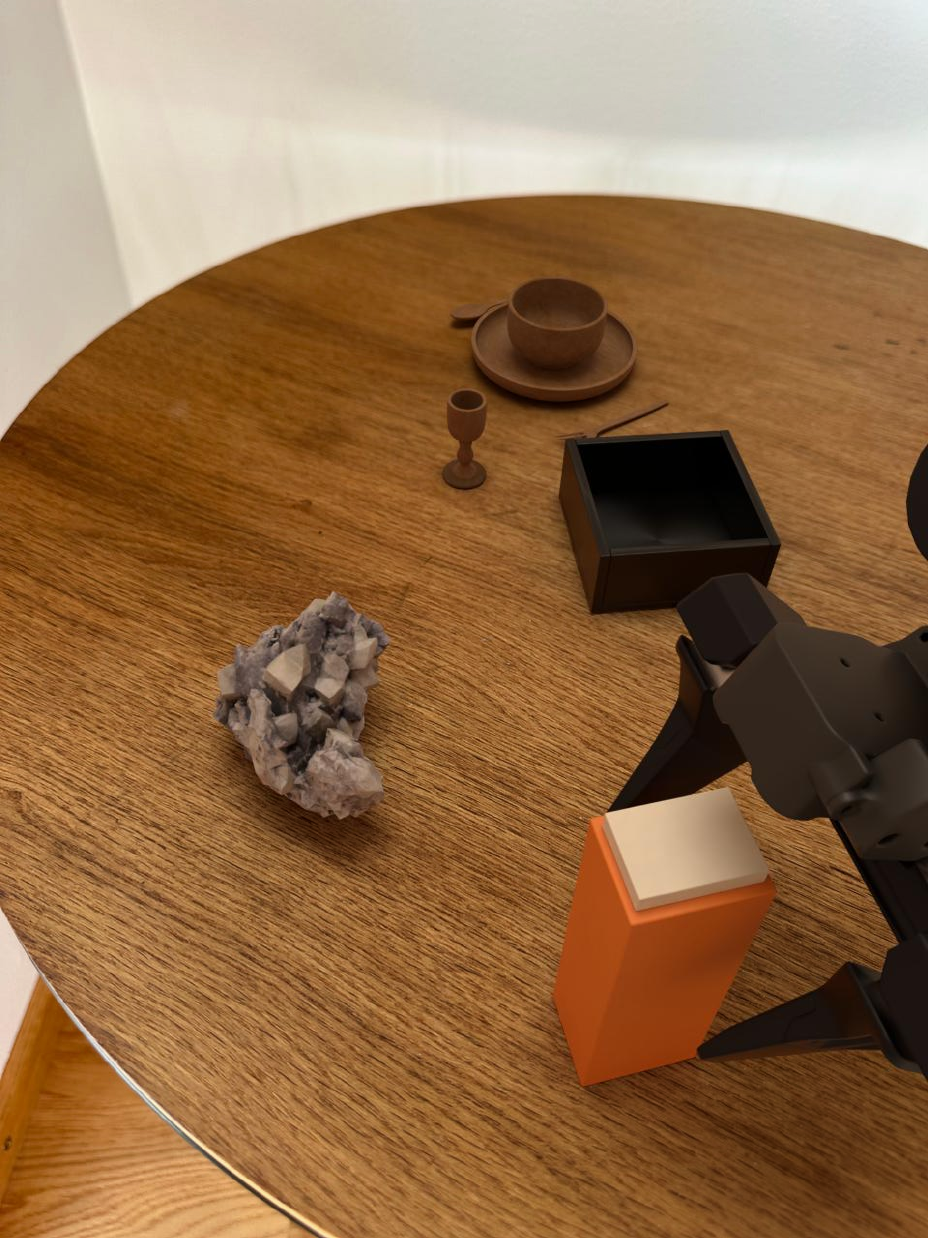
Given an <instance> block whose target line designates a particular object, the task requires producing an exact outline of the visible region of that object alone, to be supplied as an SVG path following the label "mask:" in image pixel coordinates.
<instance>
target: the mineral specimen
mask: <svg viewBox="0 0 928 1238" xmlns="http://www.w3.org/2000/svg"><path fill="white" fill-rule="evenodd" d="M391 642H392V639H391V637H390V635H388V633H387V632H386V631H385V629H384V627H383V626H382V624H380V623H379V622H377V621H376V620H374V619H371V618H369V617H368V616H366V615H364V614H363V613H358V612H357V611H356V610H355V609H354V608H353V607H352V605H351V604H350V603H349V599H348V598H346V597H344V596H342V595H340V594H338V593H337V592H335V591H334V590H332V591H331V593H330V595H329V596H327V598H326V599H322V598H315V599H313V600H312V602H311V603H310V604H309V605H308V606H307V607H306V608H305V609H304V610H302V611H301V613H300V615H299V616H297V618H296V619H294V620H293V621H292V622H291V623H290V624H289V625H288V626H284V625H281V624H276V625H275V624H274V625H271V626H270V627H269V628H267V630H265V631H262V632H261V633H260V635H259V638H258V640H257V642H255V643H254V644H252V645H251V646H250V647H248V648H246V647H245V646H243V645H242V644H240V643H237V645H236V646H235V648H234V650H233V651H234V652H233V663H230V664H227V665H225V666H224V667H222V668H220V669H219V670H217V671H216V676H217V685H218V689H219V691H220V693H219V695H218V696H217V697H215V703H214V706H215V707H216V709H214V710H213V711H212V712H211V713H210V716H212V717H213V718H214V719H215V720H216V722H218V723H220V724H221V725H223V726H224V727H225V728H227V730H228V731H230V732H232V733H233V735H234V736H235V737H234V739H235V740H236V741H237V742H238V743H239V744H241V745H242V748H243V751H244V752H243V753H244V755H245V759H246V760H247V761H250V762H252V763H253V767H254V770H255V773H256V775H257V776H258V779H259V780H260V782H261V783H262V785H264V786H269V788H270V789H271V790H273V792H275V793H277V794H279V795H281V796H283V795H284V796H285V797H287V798H288V799H289V800H290V801H292V802H294V803H296V804H297V805H299V806H300V807H301V808H302V809H304V810H306V811H310V812H316V813H319V815H320V816H321V817H322V818H323V819H324V818H326V817H329V816H332V815H336V817H337V818H338V820H342V819H344V818H347V817H349V816H350V817H353V818H358V817H359V816H361V815H363V813H365V812H367V811H368V810H371V809H373V808H376V807H378V806H380V804H381V802H382V801H383V800H384V797H386V791H384V788H383V779H384V776H383V775H382V773H381V771H379V770H378V768H377V767H376V766H375V764H374V763H373V762H372V760H371V759H370V758H368V757H367V756H365V755H364V749H363V747H362V745H361V743H360V742H359V739H360V735H361V733H362V732H363V731H364V729H365V708H366V704H367V702H368V701H369V700H368V696H369V695H368V692H369V691H371V690H373V689H374V688H378V687H379V684H380V680H379V677H378V676H377V673H378V672H379V671H380V668H379V663H378V659H379V657H380V656H381V655H382V654H383V653H384V652H385V650H386V649H387V648H388V646H389V645H390V643H391Z"/></svg>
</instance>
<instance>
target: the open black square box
mask: <svg viewBox="0 0 928 1238" xmlns="http://www.w3.org/2000/svg"><path fill="white" fill-rule="evenodd" d="M564 442H565V443H564V448H563V455H562V456H563V457H562V465H561V473H560V480H559V488H558V489H559V490H558V499H559V503H560V507H561V510H562V511H561V512H562V514H563V518H564V521H565V525H566V528H567V533H568V536H569V540H570V543H571V546H572V550H573V554H574V558H575V561H576V565H577V569H578V573H579V576H580V579H581V583H582V587H583V591H584V594H585V598H586V601H587V605H588V609H589V612H590V614H593V615H594V614H604V613H606V614H607V613H618V612H619V613H620V612H632V611H645V610H646V611H647V610H648V611H649V610H658V609H659V610H660V609H673V608H675V609H676V606H677V604H678V603H679V602H680V601H681V600H683V599H684V598H685V597H686V596H688V595H689V594H690V593H692V592H693V591H694V590H696V589H697V588H698V587H700V586H701V585H702V584H703V583H705V582H706V581H707V580H709V579H710V578H711V577H717V576H722V575H728V574H737V573H748V574H749V575H751V576H752V577H753V578H754V579H756V580H757V581H758V582H759V583H761V584H762V585H763V586H764V587H766V588H767V589H768V586H769V582H770V580H771V578H772V575H773V572H774V568H775V565H776V563H777V559H778V556H779V553H780V550H781V547H782V541H781V539H780V538H779V535H778V533H777V530H776V529H775V527H774V525H773V522H772V520H771V517H770V515H769V513H768V511H767V510H766V507H765V505H764V503H763V501H762V499H761V496H760V494H759V492H758V490H757V488H756V486H755V483H754V482H753V479H752V477H751V475H750V473H749V471H748V469H747V467H746V464H745V462H744V460H743V458H742V455H741V454H740V451H739V449H738V447H737V445H736V442H735V440H734V439H733V436H732V435H731V432H730V430H729V429H720V430H718V429H717V430H703V431H702V430H701V431H700V430H699V431H685V432H667V433H650V434H649V433H648V434H632V435H631V434H630V435H616V436H615V435H613V436H596V437H594V438H586V437H580V438H574V439H566V440H564Z"/></svg>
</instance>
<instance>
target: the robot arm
mask: <svg viewBox="0 0 928 1238" xmlns="http://www.w3.org/2000/svg"><path fill="white" fill-rule="evenodd" d="M905 509H906V521H907V527H908V529H909V532H910V534H911V537H912V539H913V542H914V544H915V547H916V548H917V550H918V551H919V553H920V555H921V556H922V557H923V558H924V559H925V560H926V561H927V562H928V443H927V444H926V445H925V447H924V448H923V450H922V451H921V452H920V454H919V456H918V458H917V460H916V462H915V465H914V467H913V470H912V472H911V474H910V476H909V481H908V487H907V492H906V497H905ZM675 610H676V611H677V613H678V615H679V617H680V619H681V621H682V623H683V624H684V627H685V629H686V630H687V632H688V634H689V637H690V638H691V639H690V638H689V637H687V636H686V635H685V634H681V635H679V637H678V638H677V640H676V643H675V648H674V649H675V653H676V654H677V656H678V658H679V659H678V660H679V665H680V666H679V680H678V693H677V699H676V701H675V704H674V705H673V707H672V709H671V711H670V712H669V715H668V717H667V718H666V721H665V723H664V725H663V726H662V728H661V729H660V731H659V733H658V735H657V736H656V738H655V739H654V741H653V742H652V743H651V745H650V747H649V749H648V750H647V752H646V753H645V754H644V755H643V757H642V759H641V760H640V762H639V763H638V765H637V766H636V767H635V768H634V771H632V774H631V775H630V776H629V778H628V779H627V781H626V782H625V784H624V785H623V787H622V788H621V789H620V792H619V793H618V794H617V796H616V797H615V799H614V800H613V801H612V803H611V805H610V806H609V808H608V809H607V811H606V812H605V813H609V812H613V811H618V810H623V809H627V808H632V807H637V806H642V805H646V804H651V803H656V802H660V801H665V800H670V799H674V798H679V797H684V796H688V795H693V794H696V793H697V792H699V791H700V790H702V789H703V788H705V787H707V786H709V785H710V784H712V783H714V782H716V781H717V780H718V779H721V778H722V777H724V776H725V775H727V774H729V773H731V772H732V771H734V770H736V769H737V768H739V767H740V766H743V765H744V764H746V763H748V764H749V766H750V770H751V773H750V780H751V782H752V784H753V786H754V788H755V790H756V792H757V793H758V795H759V796H760V798H761V799H762V800H763V801H764V803H765V804H766V805H768V807H769V808H770V809H772V811H774V812H776V813H777V814H779V815H780V816H782V817H784V818H787V819H789V820H792V821H799V822H809V821H813V820H814V819H828V820H829V821H830V823H831V825H832V827H833V829H834V830H835V832H836V834H837V836H838V837H839V839H840V841H841V843H842V846H843V847H844V849H845V850H846V852H847V854H848V856H849V858H850V859H851V861H852V862H853V864H854V866H855V868H856V869H857V872H858V874H859V875H860V877H861V879H862V881H863V882H864V884H865V886H866V888H867V889H868V891H869V894H870V895H871V896H872V899H873V900H874V902H875V904H876V905H877V907H878V909H879V911H880V913H881V914H882V916H883V918H884V920H885V921H886V923H887V925H888V927H889V929H890V930H891V932H892V935H893V936H894V937H895V940H896V941H897V943H898V944H896V945H895V946H893V947H891V948H889V949H887V951H886V955H885V958H884V962H883V966H882V969H881V971H879V970H876V969H874V968H871V967H868V966H865V965H862V964H858V963H856V962H853V961H850V960H847V961H846V962H844V963H843V964H842V965H840V967H839V968H838V969H837V970H836V971H835V972H834V973H833V974H832V975H831V977H830V978H828V979H827V980H826V982H824V983H823V984H822V985H820V986H819V987H817V988H814V989H813V990H810V991H808V992H806V993H804V994H801V995H799V996H796V997H795V998H792V999H790V1000H788V1001H785V1002H783V1003H780V1004H779V1005H776V1006H774V1007H771V1008H769V1009H767V1010H764V1011H762V1012H760V1013H758V1014H756V1015H753V1016H750V1017H749V1018H747V1019H746V1018H745V1019H744V1020H742V1021H740V1022H738V1023H735V1024H733V1025H731V1026H729V1027H726V1028H724V1029H722V1030H721V1031H719V1032H718V1033H717V1034H715V1035H713V1036H712V1037H710V1038H709V1039H708V1040H706V1041H705V1042H702V1044H701V1045H700V1046H699V1047H698V1048H697V1049H696V1051H697V1054H696V1055H697V1056H698V1058H699V1060H700V1061H701V1062H707V1063H715V1064H716V1063H726V1062H736V1061H746V1060H756V1059H766V1058H777V1057H787V1056H796V1055H806V1054H816V1053H817V1054H818V1053H829V1052H842V1051H871V1052H872V1051H874V1052H875V1051H876V1052H877V1051H879V1052H880V1053H882V1055H883V1056H884V1058H885V1059H886V1060H887V1061H888V1062H889V1063H890V1064H891V1065H892V1066H893V1067H895V1068H896V1069H899V1070H901V1071H906V1072H910V1073H911V1072H912V1073H915V1074H920V1075H923V1077H924V1079H925V1081H926V1082H928V625H925V624H924V625H921V626H920V627H918V628H917V629H915V630H913V631H912V632H911V633H909V634H907V635H906V636H905V637H903V638H901V639H899V640H896V641H893V642H890V643H887V644H883V645H881V646H880V645H877V644H875V643H874V642H872V641H870V640H868V639H867V638H865V637H863V636H860V635H857V634H853V633H849V632H848V633H847V632H841V631H838V630H837V631H836V630H831V629H827V628H826V629H825V628H821V627H816V626H810V625H808V624H807V623H806V621H805V620H804V618H803V617H802V615H801V614H799V613H798V612H797V611H796V610H795V609H793V608H792V607H791V606H789V605H788V604H787V603H786V602H784V600H782V599H781V598H780V597H778V596H777V595H776V594H775V593H774V592H772V591H771V590H770V589H769V588H768V587H767V588H766V587H764V586H763V585H762V584H761V583H759V582H758V581H757V580H756V579H754V578H753V577H752V576H751V575H749V574H748V573H737V574H728V575H722V576H717V577H711V578H710V579H709V580H707V581H706V582H705V583H703V584H702V585H701V586H700V587H698V588H697V589H696V590H694V591H693V592H692V593H690V594H689V595H688V596H686V597H685V598H684V599H683V600H681V601H680V602H679V603H678V604H677V606H676V607H675Z"/></svg>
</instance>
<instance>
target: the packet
mask: <svg viewBox="0 0 928 1238" xmlns="http://www.w3.org/2000/svg"><path fill="white" fill-rule="evenodd" d="M588 821H589V822H588V825H587V831H586V836H585V841H584V845H583V849H582V853H581V859H580V863H579V869H578V873H577V878H576V882H575V887H574V892H573V897H572V900H571V905H570V906H571V907H570V910H569V916H568V921H567V925H566V930H565V935H564V939H563V944H562V948H561V953H560V957H559V962H558V967H557V972H556V977H555V983H554V986H553V990H552V999H553V1002H554V1005H555V1008H556V1011H557V1015H558V1018H559V1021H560V1024H561V1027H562V1030H563V1033H564V1036H565V1039H566V1043H567V1045H568V1050H569V1052H570V1055H571V1058H572V1061H573V1065H574V1067H575V1070H576V1074H577V1076H578V1080H579V1083H580V1085H581V1087H587V1086H592V1085H595V1084H599V1083H603V1082H606V1081H611V1080H613V1079H619V1078H621V1077H626V1076H629V1075H633V1074H638V1073H640V1072H645V1071H648V1070H652V1069H656V1068H660V1067H663V1066H667V1065H671V1064H674V1063H679V1062H682V1061H683V1062H684V1061H687V1060H690V1059H694V1058H696V1055H698V1054H697V1051H696V1049H697V1048H698V1047H699V1046H700V1045H702V1044H703V1043H704V1040H705V1038H706V1036H707V1034H708V1031H709V1030H710V1028H711V1026H712V1024H713V1022H714V1019H715V1017H716V1015H717V1013H718V1011H719V1010H720V1007H721V1006H722V1003H723V1001H724V999H725V997H726V995H727V993H728V991H729V989H730V987H731V985H732V983H733V981H734V979H735V977H736V975H737V973H738V971H739V969H740V968H741V965H742V964H743V961H744V959H745V957H746V956H747V954H748V951H749V949H750V947H751V945H752V943H753V941H754V939H755V937H756V934H757V933H758V931H759V930H760V927H761V926H762V923H763V921H764V919H765V917H766V915H767V913H768V911H769V909H770V907H771V905H772V903H773V901H774V899H775V896H776V895H777V892H778V890H777V888H776V885H775V883H774V882H773V880H772V877H771V876H770V873H769V872H770V870H771V869H770V866H769V864H768V863H767V862H766V859H765V856H764V855H763V852H762V850H761V849H760V847H759V845H758V843H757V841H756V839H755V837H754V835H753V833H752V831H751V829H750V826H749V825H748V823H747V821H746V819H745V817H744V814H743V813H742V811H741V809H740V807H739V805H738V803H737V801H736V799H735V797H734V795H733V793H732V791H731V789H730V787H728V786H726V787H722V788H717V789H712V790H708V791H707V790H706V791H703V792H699V793H694V794H692V795H688V796H684V797H679V798H674V799H670V800H665V801H660V802H656V803H651V804H646V805H642V806H637V807H632V808H627V809H623V810H618V811H613V812H609V813H606V812H605V813H604V814H603V815H601V816H600V815H599V816H596V817H591V818H590V819H589V820H588Z"/></svg>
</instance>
